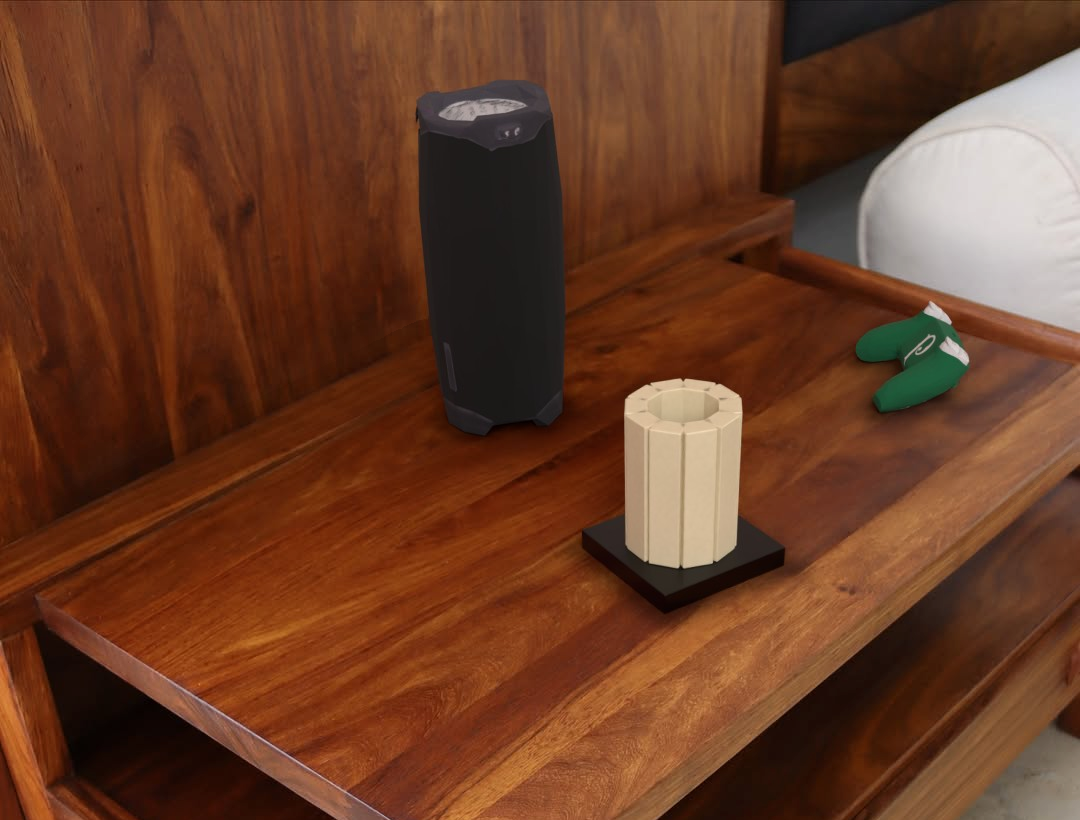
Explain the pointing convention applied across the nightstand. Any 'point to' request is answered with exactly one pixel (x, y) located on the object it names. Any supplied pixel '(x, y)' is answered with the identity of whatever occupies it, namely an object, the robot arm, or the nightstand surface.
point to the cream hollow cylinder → (682, 472)
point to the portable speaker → (493, 252)
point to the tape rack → (681, 584)
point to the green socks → (916, 358)
